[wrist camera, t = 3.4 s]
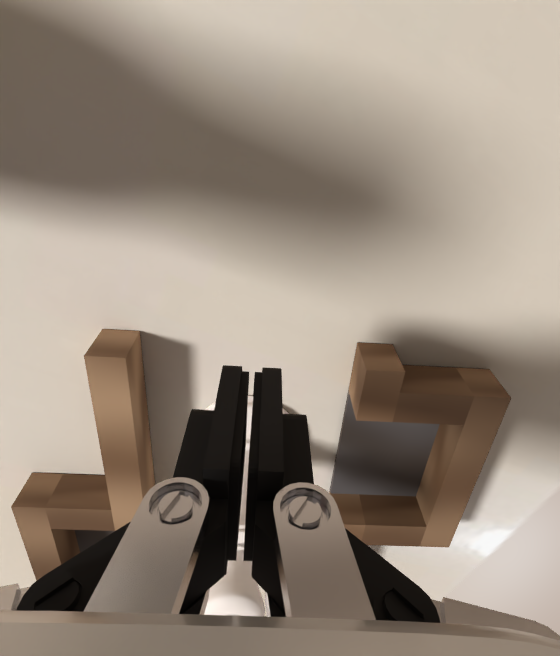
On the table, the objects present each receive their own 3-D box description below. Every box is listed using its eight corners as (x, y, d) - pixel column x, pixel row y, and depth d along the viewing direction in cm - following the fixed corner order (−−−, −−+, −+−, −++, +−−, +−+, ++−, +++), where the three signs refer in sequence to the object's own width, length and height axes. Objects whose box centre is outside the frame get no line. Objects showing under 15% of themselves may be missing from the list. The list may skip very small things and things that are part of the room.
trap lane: (-12, 323, 17) (-62, 365, 15) (496, 350, 19) (533, 393, 16) (80, 635, 29) (61, 690, 27) (387, 641, 30) (398, 694, 28)
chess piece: (317, 422, 20) (352, 676, 12) (263, 485, 22) (258, 741, 14) (224, 377, 19) (185, 626, 10) (175, 448, 21) (108, 707, 12)
